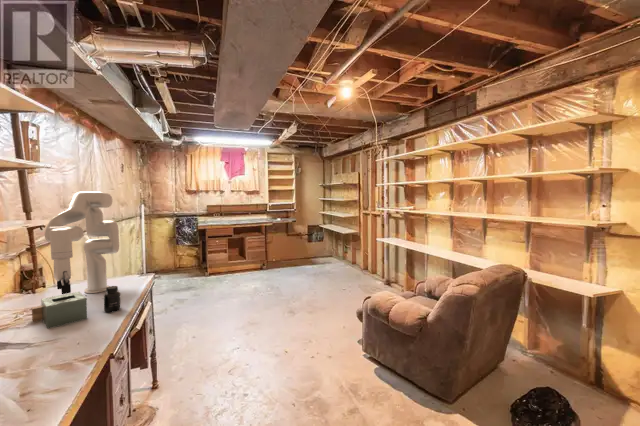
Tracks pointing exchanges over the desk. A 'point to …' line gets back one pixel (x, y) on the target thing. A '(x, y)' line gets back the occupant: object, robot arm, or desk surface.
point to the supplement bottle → (111, 299)
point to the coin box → (63, 309)
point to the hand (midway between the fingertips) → (64, 290)
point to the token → (37, 313)
